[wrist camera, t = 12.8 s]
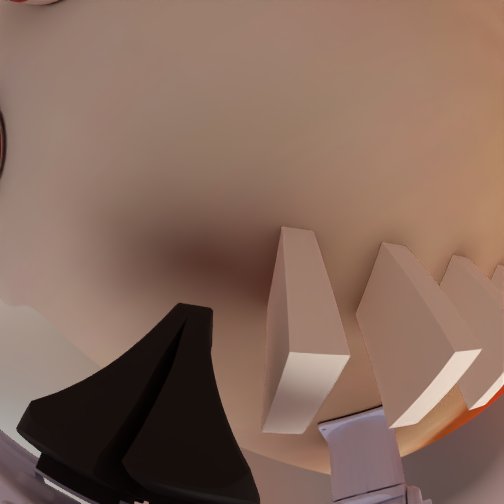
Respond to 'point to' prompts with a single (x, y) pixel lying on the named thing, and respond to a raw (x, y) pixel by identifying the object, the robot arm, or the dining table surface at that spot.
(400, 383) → the tile
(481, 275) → the tile
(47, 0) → the fruit juice
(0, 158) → the soda can
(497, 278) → the tile
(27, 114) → the dining table surface
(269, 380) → the head tile
